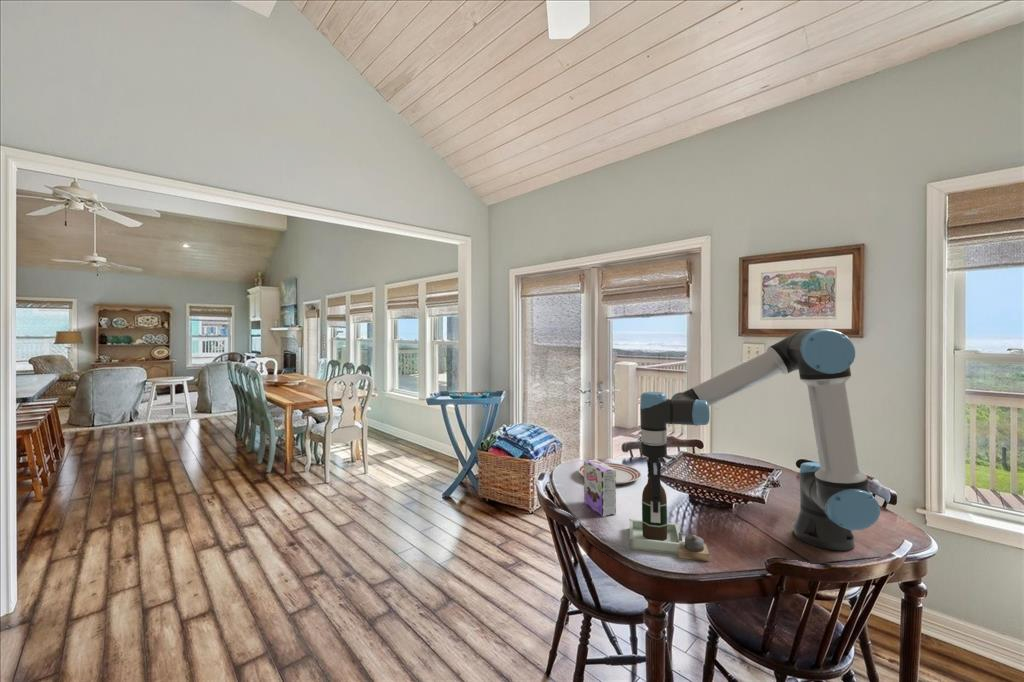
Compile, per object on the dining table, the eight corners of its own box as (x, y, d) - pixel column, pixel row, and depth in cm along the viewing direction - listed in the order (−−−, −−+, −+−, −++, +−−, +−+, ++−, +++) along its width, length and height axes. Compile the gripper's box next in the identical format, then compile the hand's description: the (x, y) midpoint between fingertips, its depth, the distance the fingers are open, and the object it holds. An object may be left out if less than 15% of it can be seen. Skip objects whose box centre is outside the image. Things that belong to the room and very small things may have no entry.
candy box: (583, 503, 163) (583, 460, 163) (597, 501, 165) (596, 458, 164) (602, 517, 150) (601, 470, 149) (616, 515, 151) (616, 468, 151)
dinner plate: (642, 471, 200) (642, 464, 200) (640, 491, 174) (640, 483, 174) (583, 466, 209) (583, 459, 209) (573, 485, 183) (573, 477, 183)
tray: (678, 533, 137) (678, 523, 137) (683, 554, 123) (683, 544, 123) (629, 528, 141) (629, 519, 141) (629, 549, 127) (629, 539, 127)
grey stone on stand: (705, 550, 126) (705, 532, 126) (709, 561, 120) (709, 542, 120) (676, 547, 128) (676, 529, 128) (678, 557, 122) (678, 538, 122)
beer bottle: (672, 535, 132) (671, 458, 132) (662, 544, 127) (660, 463, 126) (648, 528, 138) (647, 453, 137) (637, 536, 132) (636, 459, 132)
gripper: (639, 434, 143) (641, 503, 143) (641, 450, 123) (643, 529, 123) (663, 435, 141) (664, 504, 141) (669, 452, 121) (670, 532, 121)
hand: (654, 516), depth 132 cm, fingers closed on beer bottle, 7 cm apart
